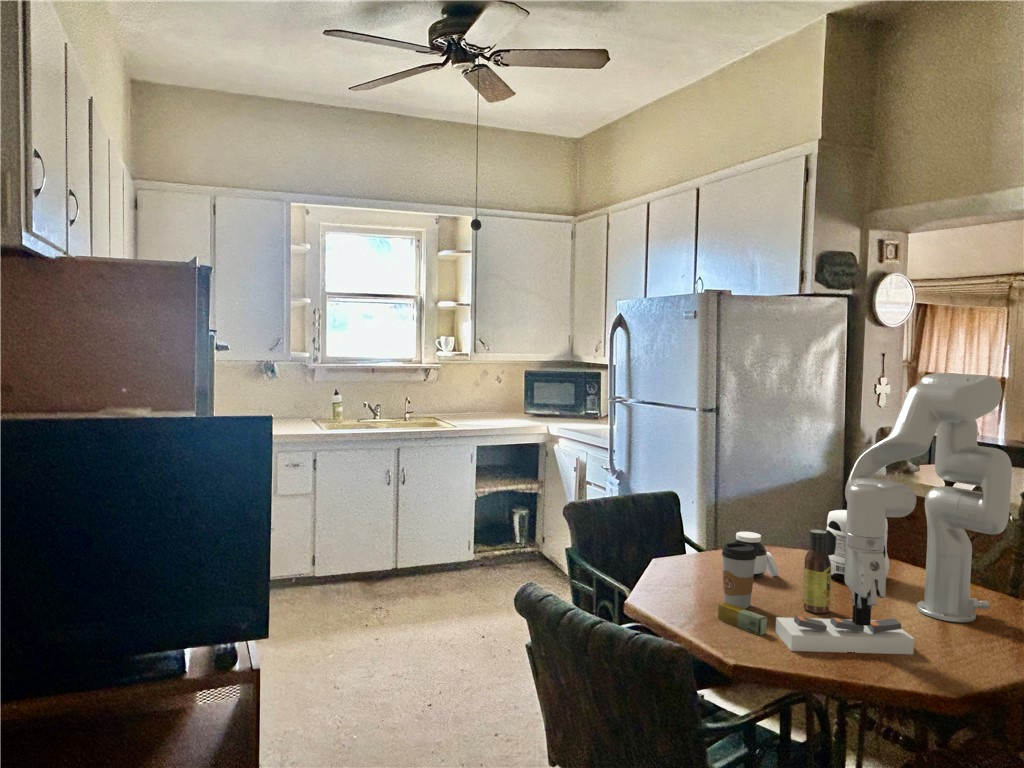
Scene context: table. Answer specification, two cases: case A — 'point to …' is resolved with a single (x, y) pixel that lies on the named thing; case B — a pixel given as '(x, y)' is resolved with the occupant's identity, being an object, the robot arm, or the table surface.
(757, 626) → the medication box
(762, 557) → the spread jar
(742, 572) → the coffee cup
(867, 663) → the table surface
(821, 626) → the rocker
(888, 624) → the rocker
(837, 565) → the milk container
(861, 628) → the rocker middle
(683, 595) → the table surface
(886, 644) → the rocker switch panel
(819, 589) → the sauce bottle
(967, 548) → the robot arm
